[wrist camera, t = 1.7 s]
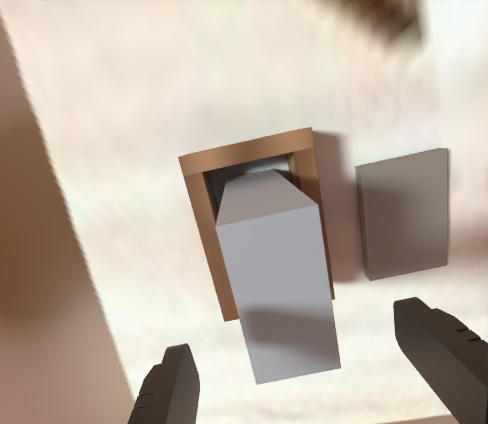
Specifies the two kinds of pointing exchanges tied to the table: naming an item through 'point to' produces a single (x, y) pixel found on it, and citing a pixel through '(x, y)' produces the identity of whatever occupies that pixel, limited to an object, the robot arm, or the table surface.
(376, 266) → the pad
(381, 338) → the table surface
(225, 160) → the frame
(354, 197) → the table surface
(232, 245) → the block
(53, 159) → the table surface
